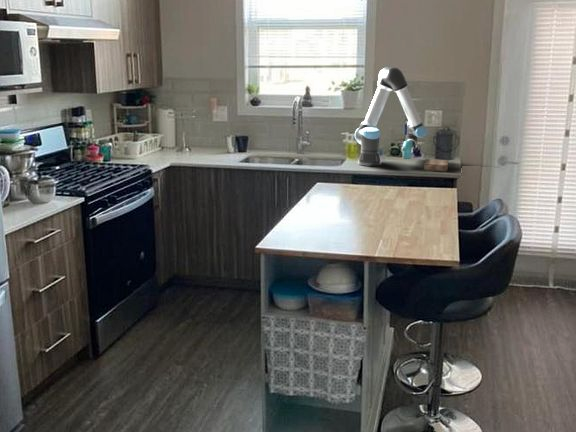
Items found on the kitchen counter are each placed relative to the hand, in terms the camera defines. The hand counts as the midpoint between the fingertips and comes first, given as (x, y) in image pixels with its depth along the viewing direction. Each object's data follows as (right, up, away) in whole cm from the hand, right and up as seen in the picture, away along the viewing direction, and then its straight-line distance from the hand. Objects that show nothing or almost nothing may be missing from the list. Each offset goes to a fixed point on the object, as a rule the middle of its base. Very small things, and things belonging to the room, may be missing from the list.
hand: (406, 150), depth 403 cm
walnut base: (+19, -11, +3) cm, 22 cm away
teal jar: (+1, -5, +6) cm, 8 cm away
